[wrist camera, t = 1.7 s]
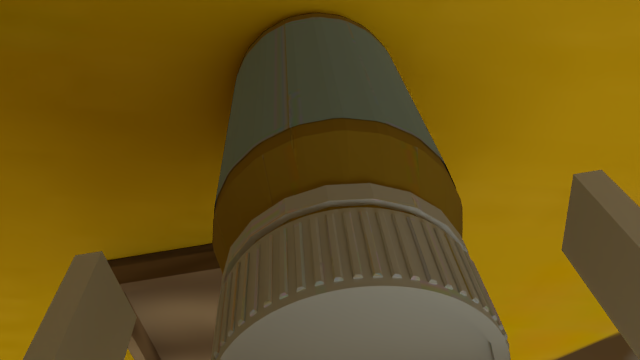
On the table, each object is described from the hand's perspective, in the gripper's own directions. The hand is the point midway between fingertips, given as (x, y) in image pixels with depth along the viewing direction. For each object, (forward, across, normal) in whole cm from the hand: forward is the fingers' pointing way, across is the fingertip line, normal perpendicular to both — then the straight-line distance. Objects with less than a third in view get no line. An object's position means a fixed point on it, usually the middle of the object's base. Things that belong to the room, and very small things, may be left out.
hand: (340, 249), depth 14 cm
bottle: (+10, 0, +1) cm, 11 cm away
